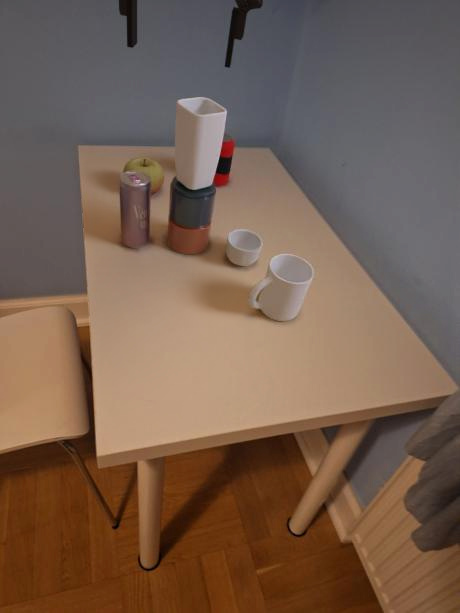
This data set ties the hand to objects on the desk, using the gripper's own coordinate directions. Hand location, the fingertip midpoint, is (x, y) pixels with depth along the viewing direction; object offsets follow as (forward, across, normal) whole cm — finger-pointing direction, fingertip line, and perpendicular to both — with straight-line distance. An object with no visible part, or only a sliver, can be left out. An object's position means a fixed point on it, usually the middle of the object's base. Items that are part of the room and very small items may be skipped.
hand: (180, 55), depth 57 cm
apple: (+39, -11, +27) cm, 48 cm away
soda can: (+39, +6, +39) cm, 55 cm away
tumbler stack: (+38, +3, +9) cm, 40 cm away
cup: (+24, +3, +9) cm, 26 cm away
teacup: (+39, +15, +7) cm, 42 cm away
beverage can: (+39, -8, +6) cm, 40 cm away
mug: (+39, +22, -8) cm, 45 cm away
